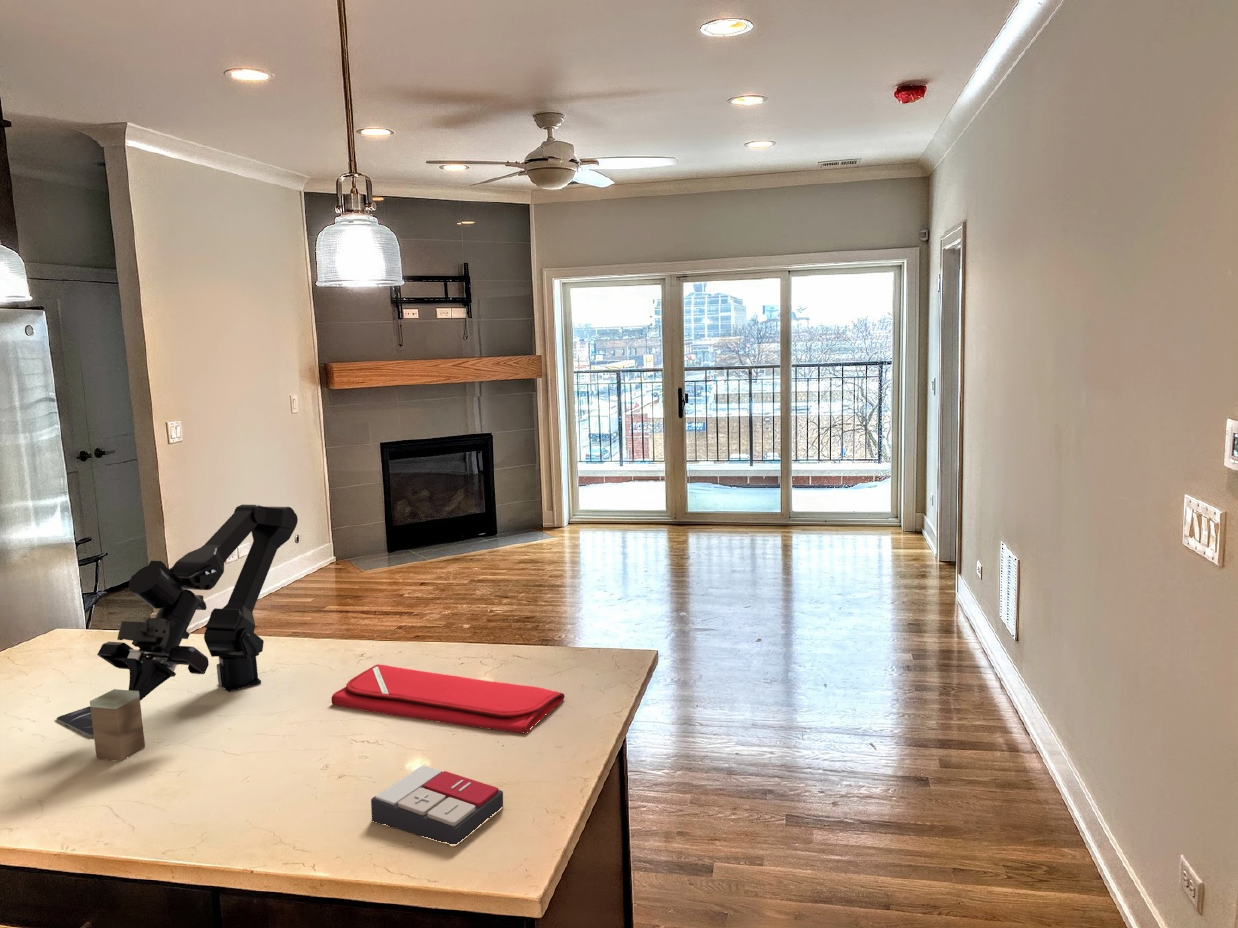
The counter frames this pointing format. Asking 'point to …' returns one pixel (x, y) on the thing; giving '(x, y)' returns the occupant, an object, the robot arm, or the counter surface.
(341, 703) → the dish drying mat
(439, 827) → the calculator
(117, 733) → the walnut block
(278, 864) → the counter surface
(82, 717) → the smartphone
